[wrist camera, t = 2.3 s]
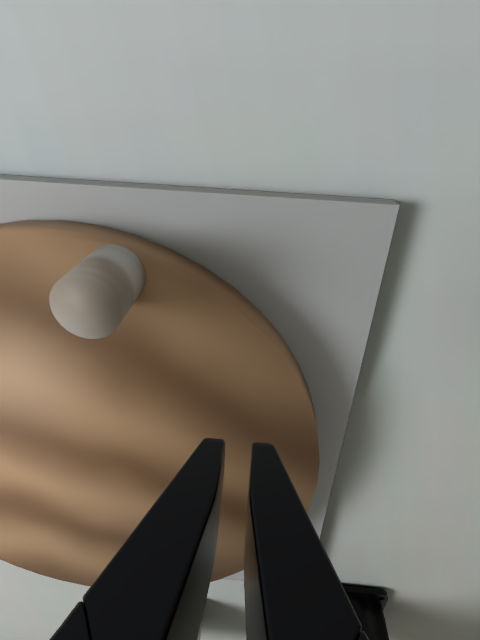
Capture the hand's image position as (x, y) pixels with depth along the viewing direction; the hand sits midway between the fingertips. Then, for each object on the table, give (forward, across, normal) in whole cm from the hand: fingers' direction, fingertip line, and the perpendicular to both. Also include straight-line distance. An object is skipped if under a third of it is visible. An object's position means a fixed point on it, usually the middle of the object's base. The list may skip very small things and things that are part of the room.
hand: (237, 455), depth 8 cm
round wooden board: (+11, +8, +11) cm, 18 cm away
